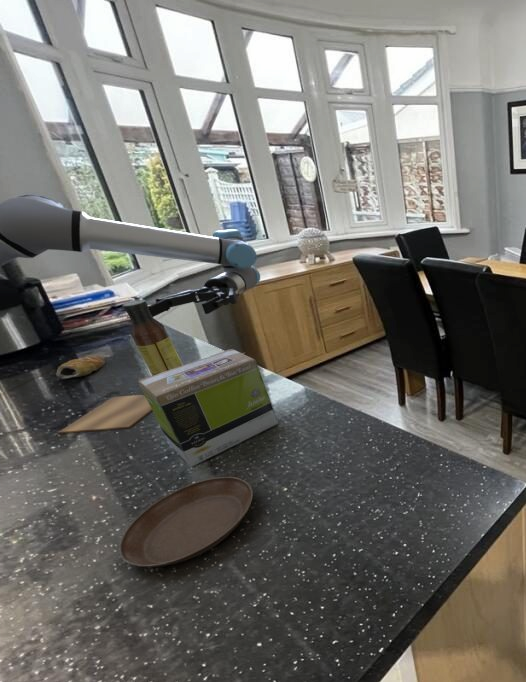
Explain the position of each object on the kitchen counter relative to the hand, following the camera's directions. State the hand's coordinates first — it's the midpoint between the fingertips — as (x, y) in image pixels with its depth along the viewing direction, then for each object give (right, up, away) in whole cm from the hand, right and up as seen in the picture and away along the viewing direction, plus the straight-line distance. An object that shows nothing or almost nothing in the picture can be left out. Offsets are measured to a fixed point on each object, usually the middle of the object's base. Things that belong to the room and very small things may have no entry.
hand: (176, 310), depth 101 cm
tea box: (+32, -26, -26) cm, 49 cm away
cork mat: (+3, -23, -17) cm, 29 cm away
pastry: (-25, -16, +1) cm, 30 cm away
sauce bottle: (+1, -17, -3) cm, 18 cm away
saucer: (+42, -35, -45) cm, 71 cm away
